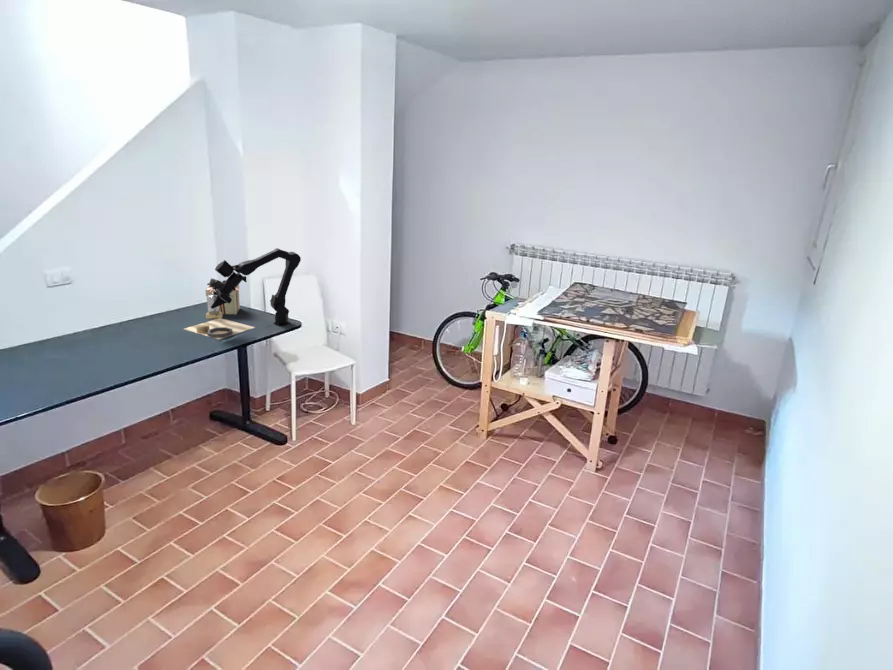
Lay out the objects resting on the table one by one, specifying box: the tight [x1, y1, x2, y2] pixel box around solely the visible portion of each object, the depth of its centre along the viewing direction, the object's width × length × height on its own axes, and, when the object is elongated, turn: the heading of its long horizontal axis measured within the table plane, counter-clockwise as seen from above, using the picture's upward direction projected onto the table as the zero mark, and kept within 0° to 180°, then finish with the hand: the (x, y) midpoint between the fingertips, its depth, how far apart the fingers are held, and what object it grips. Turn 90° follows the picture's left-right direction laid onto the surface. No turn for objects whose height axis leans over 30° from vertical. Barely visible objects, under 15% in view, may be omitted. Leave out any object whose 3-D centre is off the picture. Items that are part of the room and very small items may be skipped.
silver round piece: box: [205, 295, 224, 320], centre depth 277 cm, size 8×8×11 cm
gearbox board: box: [184, 317, 256, 342], centre depth 284 cm, size 23×26×4 cm
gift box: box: [205, 282, 241, 316], centre depth 309 cm, size 17×18×17 cm
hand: (210, 306), depth 276 cm, fingers closed on silver round piece, 5 cm apart
